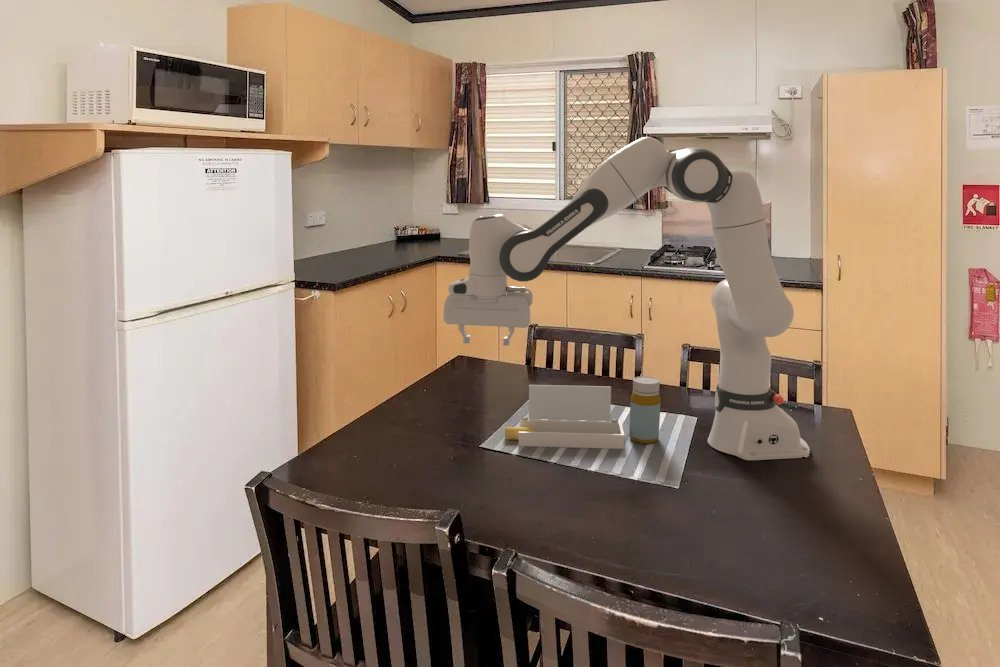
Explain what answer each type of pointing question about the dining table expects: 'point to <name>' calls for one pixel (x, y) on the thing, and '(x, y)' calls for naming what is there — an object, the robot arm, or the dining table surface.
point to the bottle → (645, 410)
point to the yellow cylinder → (515, 432)
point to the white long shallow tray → (572, 434)
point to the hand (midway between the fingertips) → (486, 344)
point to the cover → (570, 402)
